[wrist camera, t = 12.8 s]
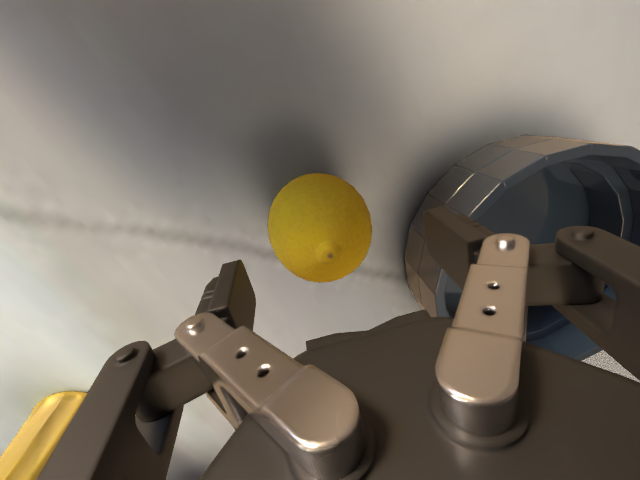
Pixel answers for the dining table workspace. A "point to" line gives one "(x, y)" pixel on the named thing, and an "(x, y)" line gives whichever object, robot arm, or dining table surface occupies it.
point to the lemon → (319, 227)
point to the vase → (39, 436)
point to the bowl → (531, 215)
